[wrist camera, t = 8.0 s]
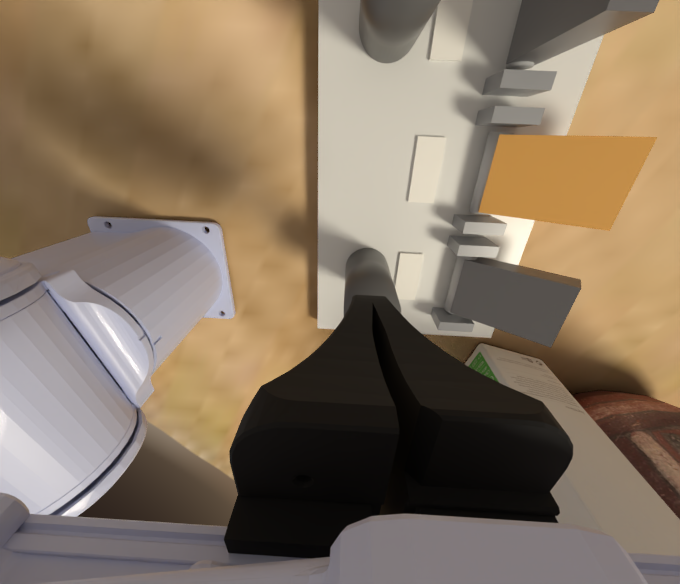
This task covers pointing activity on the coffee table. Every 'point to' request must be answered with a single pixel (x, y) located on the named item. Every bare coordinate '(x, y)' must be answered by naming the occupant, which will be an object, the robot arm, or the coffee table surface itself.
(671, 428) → the pottery
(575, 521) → the skincare box
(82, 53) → the coffee table surface
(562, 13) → the paddle
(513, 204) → the block
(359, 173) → the breaker panel
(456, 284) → the paddle
